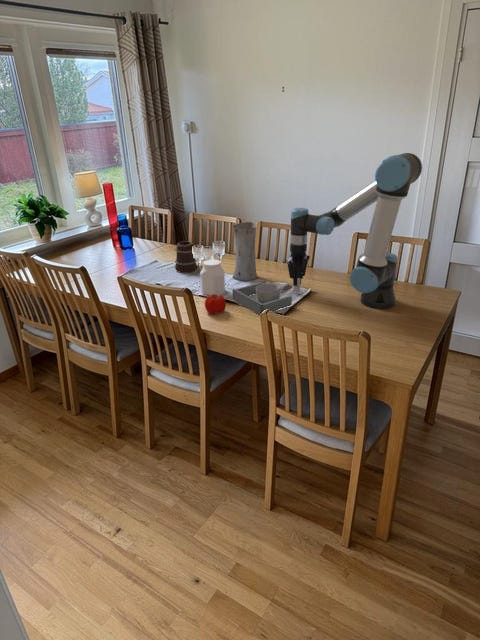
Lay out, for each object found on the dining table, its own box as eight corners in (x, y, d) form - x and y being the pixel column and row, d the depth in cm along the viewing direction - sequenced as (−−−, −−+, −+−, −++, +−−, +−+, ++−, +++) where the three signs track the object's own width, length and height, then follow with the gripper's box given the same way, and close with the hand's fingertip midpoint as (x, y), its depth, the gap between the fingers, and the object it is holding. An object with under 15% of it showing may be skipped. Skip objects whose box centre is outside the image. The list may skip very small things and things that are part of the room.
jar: (228, 290, 216) (227, 260, 209) (219, 297, 208) (217, 267, 202) (208, 286, 221) (206, 257, 214) (198, 293, 213) (196, 263, 206)
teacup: (276, 309, 195) (277, 292, 191) (253, 306, 198) (253, 290, 194) (283, 297, 207) (283, 281, 203) (260, 295, 210) (260, 279, 206)
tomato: (201, 312, 194) (200, 296, 190) (216, 306, 199) (216, 290, 196) (215, 318, 188) (215, 302, 184) (230, 312, 193) (230, 296, 190)
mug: (189, 274, 237) (187, 247, 231) (171, 270, 243) (169, 244, 236) (204, 265, 250) (203, 239, 243) (187, 262, 255) (185, 237, 248)
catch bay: (291, 306, 197) (291, 295, 195) (261, 316, 189) (261, 304, 186) (261, 291, 214) (261, 281, 211) (232, 299, 205) (232, 289, 203)
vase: (229, 281, 227) (227, 228, 214) (237, 271, 239) (236, 221, 226) (253, 284, 224) (253, 230, 211) (260, 274, 235) (260, 222, 222)
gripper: (303, 238, 206) (301, 285, 216) (282, 243, 199) (281, 292, 209) (314, 242, 200) (312, 290, 210) (293, 247, 193) (291, 297, 204)
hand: (296, 291), depth 210 cm, fingers closed
